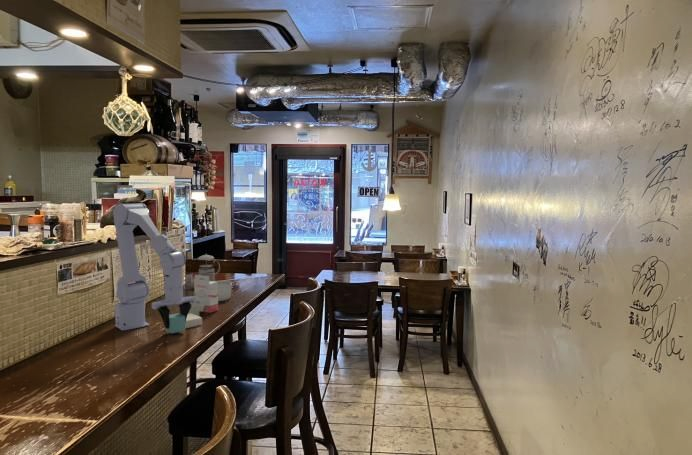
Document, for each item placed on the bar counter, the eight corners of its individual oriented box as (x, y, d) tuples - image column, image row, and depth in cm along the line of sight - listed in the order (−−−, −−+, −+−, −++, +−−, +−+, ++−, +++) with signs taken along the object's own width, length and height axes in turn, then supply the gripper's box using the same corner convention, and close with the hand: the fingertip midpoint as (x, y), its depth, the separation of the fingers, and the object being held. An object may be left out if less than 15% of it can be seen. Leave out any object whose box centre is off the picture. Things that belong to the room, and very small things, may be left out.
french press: (195, 283, 247) (194, 235, 245) (218, 281, 252) (217, 234, 250) (198, 287, 238) (196, 237, 236) (221, 285, 243) (220, 236, 241)
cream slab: (178, 330, 167) (177, 322, 167) (167, 325, 174) (167, 317, 173) (202, 325, 173) (202, 317, 173) (191, 320, 180) (191, 313, 179)
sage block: (188, 318, 182) (187, 306, 182) (183, 315, 186) (182, 304, 185) (199, 315, 185) (199, 304, 185) (194, 313, 189) (193, 302, 188)
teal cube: (170, 333, 159) (170, 318, 159) (164, 330, 163) (164, 315, 162) (185, 330, 163) (184, 316, 162) (179, 327, 166) (178, 313, 166)
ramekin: (236, 295, 219) (236, 280, 219) (226, 302, 206) (226, 286, 206) (208, 295, 221) (208, 280, 220) (196, 302, 208) (196, 286, 207)
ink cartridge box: (219, 310, 193) (218, 274, 192) (210, 313, 189) (209, 276, 188) (203, 307, 197) (202, 272, 196) (194, 310, 193) (193, 274, 192)
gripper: (156, 292, 154) (158, 333, 155) (199, 285, 163) (200, 324, 165) (148, 288, 159) (150, 328, 160) (190, 282, 169) (191, 320, 170)
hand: (175, 326), depth 163 cm, fingers closed on teal cube, 5 cm apart
